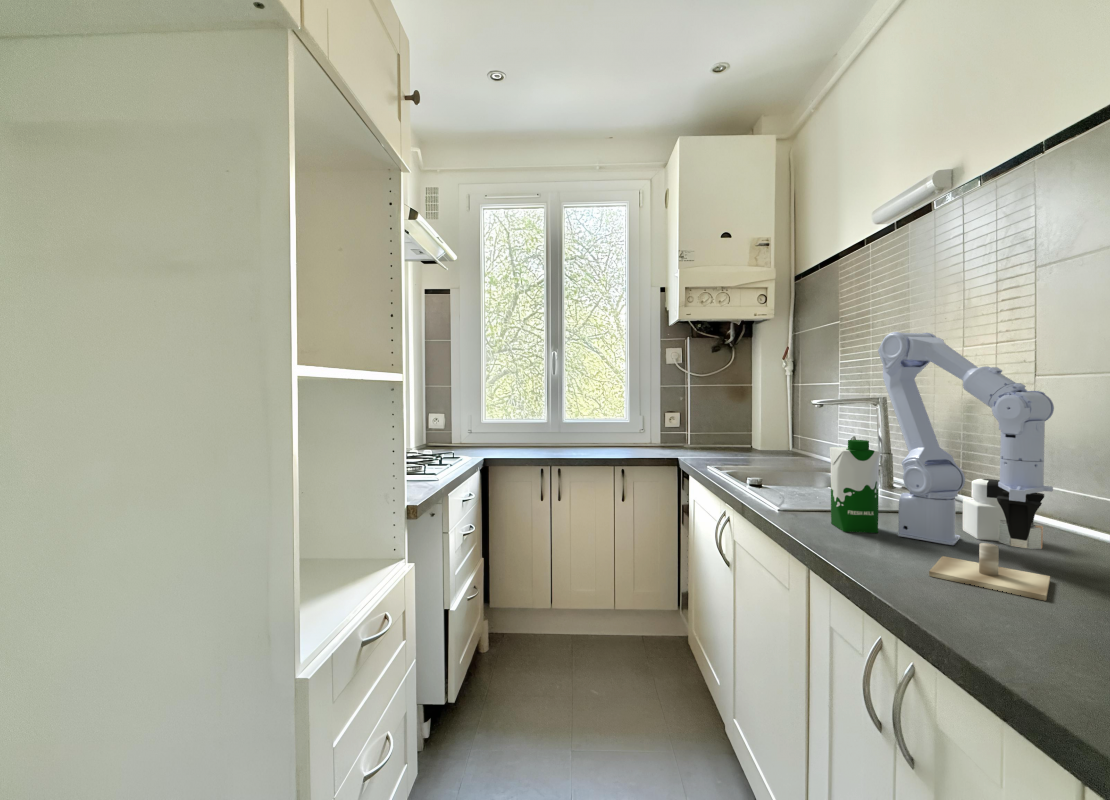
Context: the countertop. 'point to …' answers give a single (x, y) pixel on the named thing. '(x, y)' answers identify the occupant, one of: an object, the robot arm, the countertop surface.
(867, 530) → the milk carton
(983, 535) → the medicine bottle
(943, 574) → the duct board
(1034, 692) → the countertop surface
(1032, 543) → the collar
